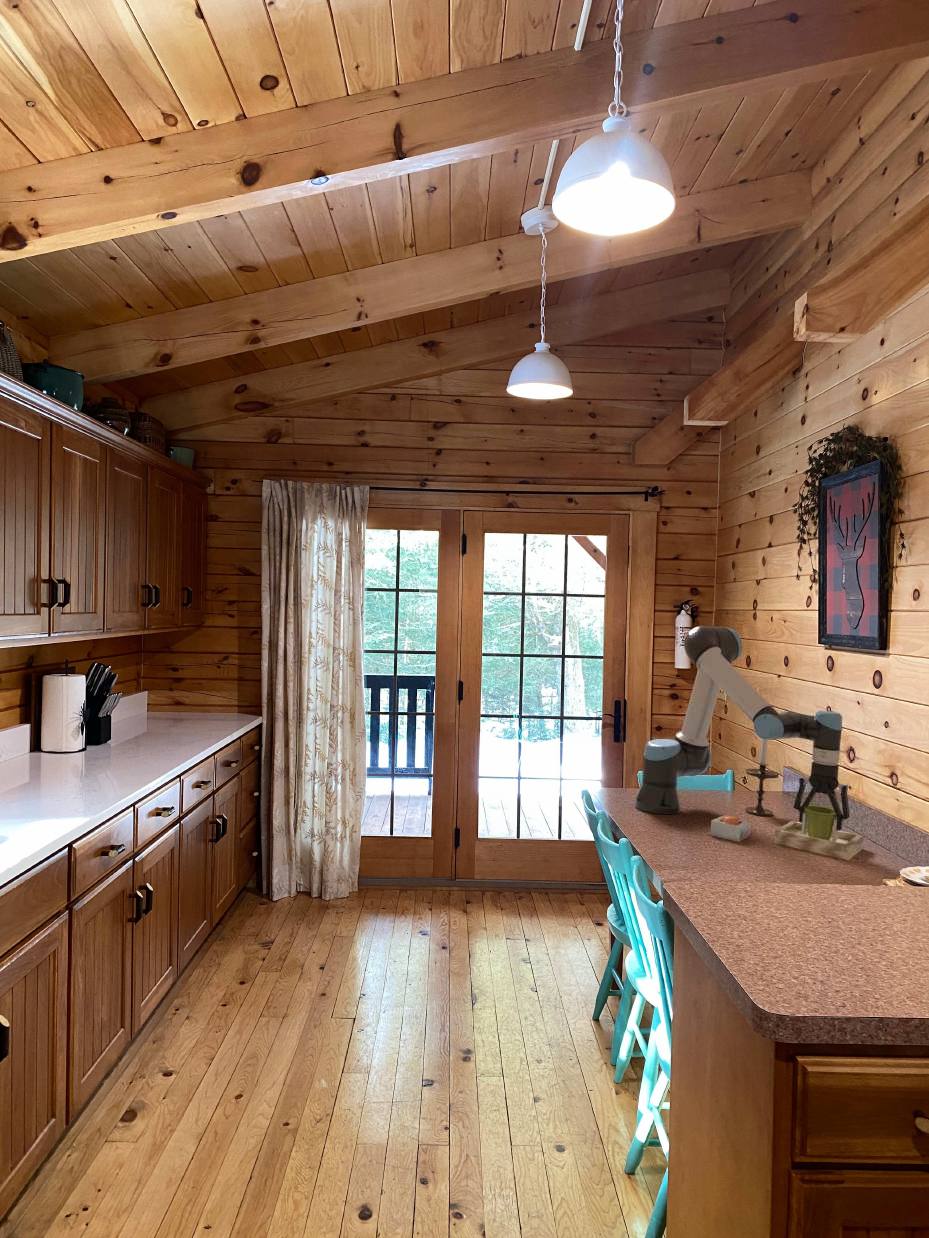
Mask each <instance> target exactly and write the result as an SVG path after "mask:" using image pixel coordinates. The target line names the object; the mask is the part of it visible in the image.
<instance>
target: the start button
mask: <svg viewBox="0 0 929 1238" xmlns="http://www.w3.org/2000/svg"><path fill="white" fill-rule="evenodd" d="M722 816H723V820H722V822H725V823H730V824H734V825H739V822H740V820H741V819H740V817H737V816H734V815H722Z"/></svg>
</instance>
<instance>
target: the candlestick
mask: <svg viewBox="0 0 929 1238" xmlns="http://www.w3.org/2000/svg"><path fill="white" fill-rule="evenodd" d="M768 741H769V740H768V739H762V738H761V747H760V760H759V762H758V763H756V764H757V765H759V766H758V767H759V768H745V774H746V775H748V776H752V777H756V778H757V779H758V780H759V781H758V784H759V785H758V789H756V794H757V797H756V800H757V805H756V806H754V807H753V806H750V807H748V806H747V807H746V808H745V810H744V811H745V813H746V814H749V815H751V816H752V815H753V816H758V817H765V818H766V817H768V818H769V817H773V816H774V815H773V814H774V811H772V810H770V809H767V808H764V806H763V801H764V800H765V798H763V796H764V795H765V793H766V791H765V790H764V780H766V779H778V778H779V775H780V774H779V773H778V772H777V771H774V770H769V769H766V767H768V766H770V765H769V764H767V750H768V743H769V742H768Z"/></svg>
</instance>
